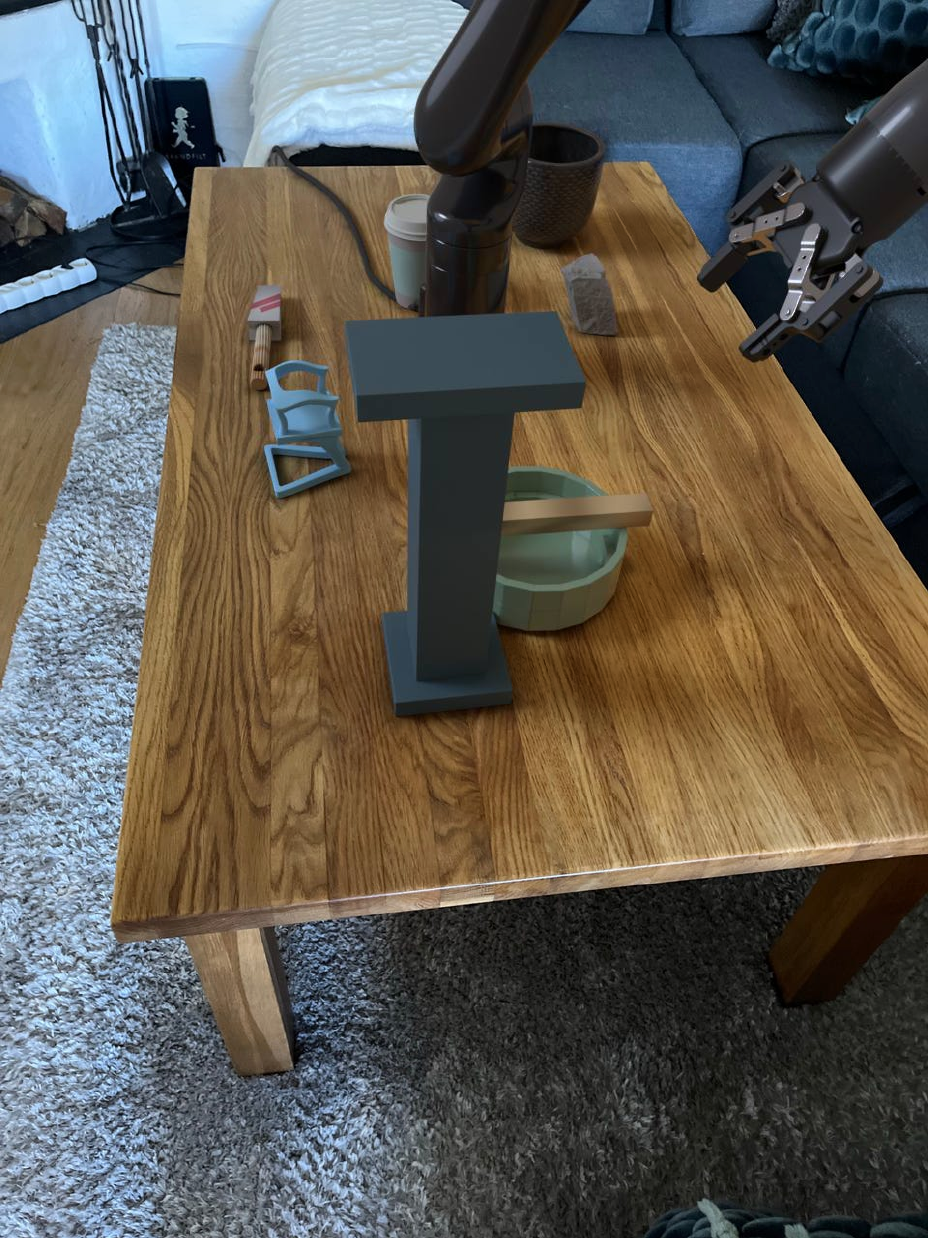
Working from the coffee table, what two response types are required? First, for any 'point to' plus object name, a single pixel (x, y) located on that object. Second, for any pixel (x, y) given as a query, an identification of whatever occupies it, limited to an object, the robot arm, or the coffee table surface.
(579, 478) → the bowl
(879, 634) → the coffee table surface
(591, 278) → the mineral specimen
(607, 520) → the wooden mallet
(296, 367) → the chair
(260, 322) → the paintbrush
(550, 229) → the planter
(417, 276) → the coffee cup
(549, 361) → the lectern stand
